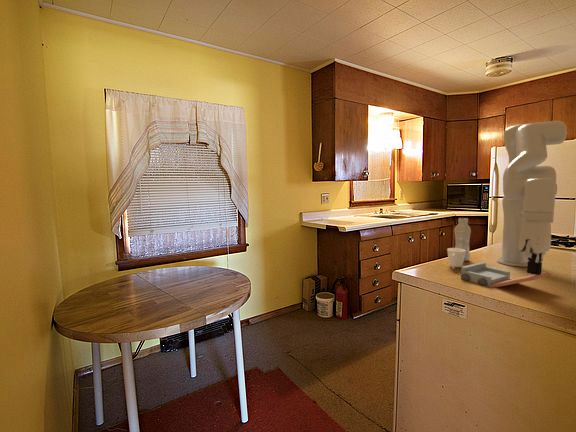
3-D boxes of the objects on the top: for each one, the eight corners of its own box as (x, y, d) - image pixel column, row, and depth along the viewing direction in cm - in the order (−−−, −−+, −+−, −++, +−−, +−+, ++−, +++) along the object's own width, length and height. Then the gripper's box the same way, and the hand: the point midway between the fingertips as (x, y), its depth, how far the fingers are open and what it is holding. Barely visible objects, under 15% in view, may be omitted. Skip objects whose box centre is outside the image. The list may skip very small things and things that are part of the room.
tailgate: (512, 281, 108) (510, 279, 108) (549, 274, 98) (548, 271, 98) (493, 287, 102) (491, 284, 102) (530, 280, 92) (529, 277, 93)
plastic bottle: (470, 263, 133) (472, 219, 131) (452, 262, 137) (454, 218, 134) (470, 260, 138) (472, 217, 136) (453, 258, 142) (455, 217, 140)
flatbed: (482, 274, 118) (483, 261, 118) (513, 281, 109) (513, 268, 108) (459, 280, 111) (460, 267, 111) (489, 288, 102) (490, 274, 101)
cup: (466, 267, 127) (467, 249, 126) (461, 273, 120) (462, 253, 119) (448, 265, 132) (449, 247, 131) (442, 270, 124) (443, 251, 124)
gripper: (535, 215, 101) (531, 268, 103) (511, 217, 94) (508, 274, 96) (563, 217, 95) (559, 273, 96) (540, 219, 88) (536, 280, 89)
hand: (534, 273), depth 96 cm, fingers closed
